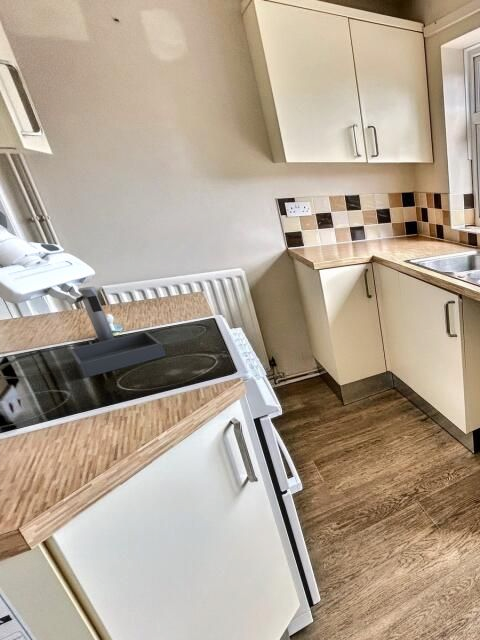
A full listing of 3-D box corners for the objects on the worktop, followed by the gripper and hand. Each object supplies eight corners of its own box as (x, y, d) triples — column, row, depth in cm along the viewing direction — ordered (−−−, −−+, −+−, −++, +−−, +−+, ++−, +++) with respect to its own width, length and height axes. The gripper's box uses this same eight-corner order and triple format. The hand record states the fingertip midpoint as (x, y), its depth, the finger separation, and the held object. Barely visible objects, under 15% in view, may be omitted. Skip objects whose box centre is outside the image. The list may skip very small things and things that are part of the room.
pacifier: (93, 341, 117) (121, 336, 120) (83, 320, 115) (112, 315, 118) (98, 334, 123) (125, 329, 126) (89, 314, 120) (116, 309, 123)
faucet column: (98, 353, 109) (76, 302, 104) (94, 348, 112) (72, 298, 107) (126, 347, 113) (106, 296, 108) (121, 342, 116) (101, 293, 111)
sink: (85, 378, 96) (78, 364, 95) (74, 362, 104) (68, 349, 103) (166, 355, 107) (161, 343, 105) (150, 343, 115) (146, 331, 114)
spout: (88, 313, 100) (81, 297, 98) (82, 303, 108) (75, 288, 106) (107, 309, 102) (100, 294, 101) (99, 300, 110) (93, 285, 109)
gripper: (-28, 260, 87) (42, 305, 91) (64, 243, 106) (119, 280, 110) (-39, 282, 89) (30, 324, 93) (53, 261, 107) (107, 297, 112)
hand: (79, 300), depth 102 cm, fingers closed
